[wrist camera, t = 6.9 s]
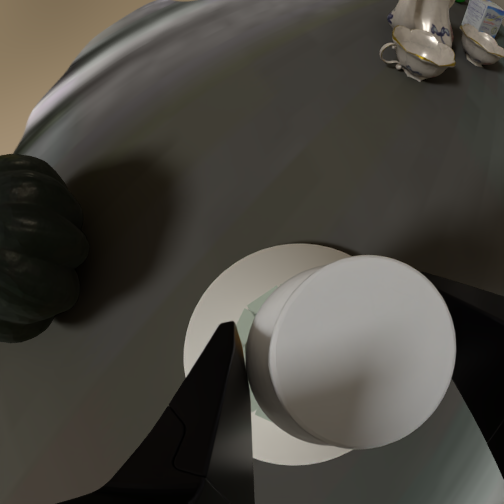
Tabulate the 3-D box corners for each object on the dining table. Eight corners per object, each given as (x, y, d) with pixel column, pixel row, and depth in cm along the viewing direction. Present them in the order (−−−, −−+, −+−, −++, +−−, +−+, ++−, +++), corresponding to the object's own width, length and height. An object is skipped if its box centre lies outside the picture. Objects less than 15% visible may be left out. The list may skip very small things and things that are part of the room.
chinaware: (419, 118, 29) (484, 15, 13) (327, 37, 33) (347, -64, 17) (496, 75, 33) (537, 17, 17) (429, 16, 37) (456, -45, 21)
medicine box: (475, 37, 35) (488, 5, 27) (460, 24, 37) (471, -7, 29) (494, 40, 36) (506, 12, 27) (480, 28, 37) (491, 0, 29)
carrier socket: (268, 496, 17) (267, 516, 14) (149, 324, 22) (129, 318, 19) (439, 369, 19) (463, 369, 16) (320, 211, 24) (327, 188, 21)
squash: (118, 144, 21) (-48, 102, 11) (107, 347, 17) (-108, 319, 6) (72, 213, 31) (-41, 190, 20) (67, 348, 26) (-62, 333, 16)
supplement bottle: (333, 286, 16) (404, 185, 6) (381, 375, 14) (509, 380, 5) (239, 334, 15) (185, 292, 6) (287, 428, 13) (306, 523, 4)
